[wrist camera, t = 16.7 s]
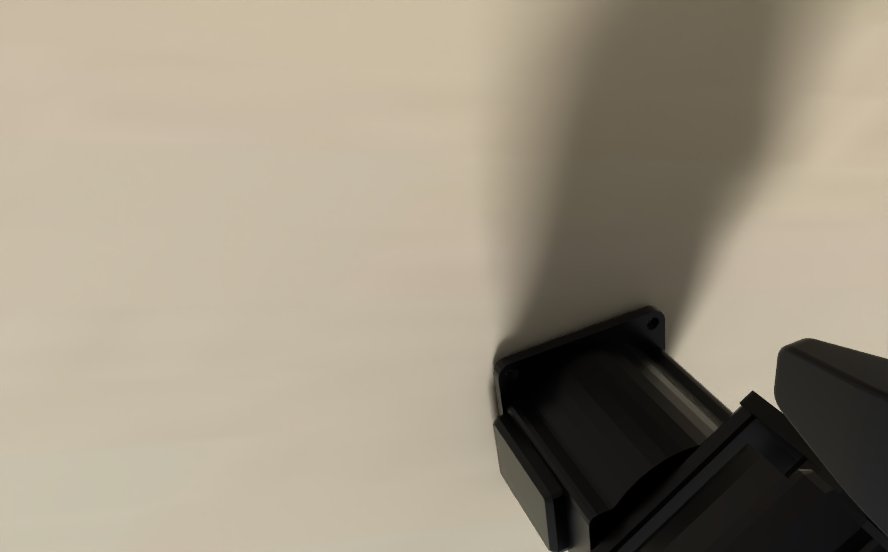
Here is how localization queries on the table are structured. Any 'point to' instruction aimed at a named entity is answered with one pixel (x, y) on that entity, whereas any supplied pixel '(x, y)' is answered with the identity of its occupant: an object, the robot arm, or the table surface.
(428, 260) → the table surface
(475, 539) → the table surface
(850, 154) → the table surface
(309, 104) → the table surface
